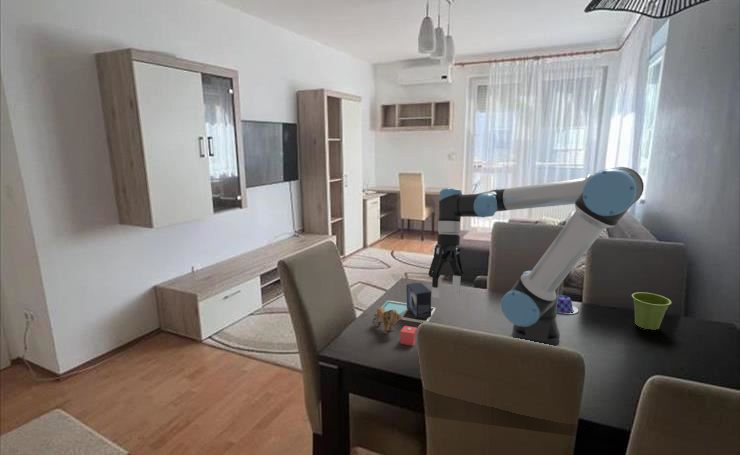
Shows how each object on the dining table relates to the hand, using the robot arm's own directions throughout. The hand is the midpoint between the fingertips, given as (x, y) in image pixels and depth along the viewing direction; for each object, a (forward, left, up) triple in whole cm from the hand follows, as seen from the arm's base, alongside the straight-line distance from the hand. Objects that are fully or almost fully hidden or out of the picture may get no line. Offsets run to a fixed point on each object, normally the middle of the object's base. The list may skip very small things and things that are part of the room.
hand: (446, 295), depth 140 cm
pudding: (-40, -41, -15) cm, 59 cm away
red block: (+10, +9, -15) cm, 20 cm away
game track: (+18, -14, -15) cm, 27 cm away
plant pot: (-68, -34, -15) cm, 77 cm away
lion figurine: (+21, +2, -15) cm, 26 cm away
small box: (+13, -14, -14) cm, 24 cm away
